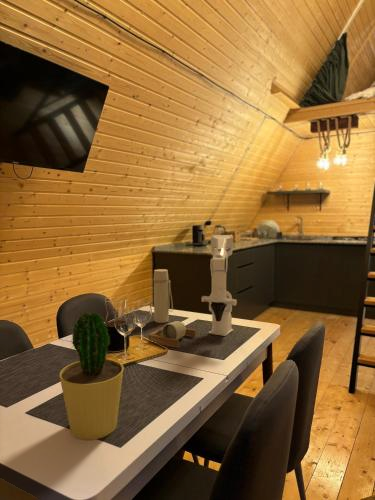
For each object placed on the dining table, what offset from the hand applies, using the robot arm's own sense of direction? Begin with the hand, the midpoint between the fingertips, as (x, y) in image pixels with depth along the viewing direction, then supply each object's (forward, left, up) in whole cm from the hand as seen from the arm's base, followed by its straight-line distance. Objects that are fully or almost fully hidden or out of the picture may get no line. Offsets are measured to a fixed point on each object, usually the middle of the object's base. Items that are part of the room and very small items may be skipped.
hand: (218, 320), depth 154 cm
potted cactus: (+69, -3, -10) cm, 70 cm away
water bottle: (-15, -36, -10) cm, 40 cm away
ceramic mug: (+4, -20, -10) cm, 22 cm away
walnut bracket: (+4, -19, -9) cm, 22 cm away
